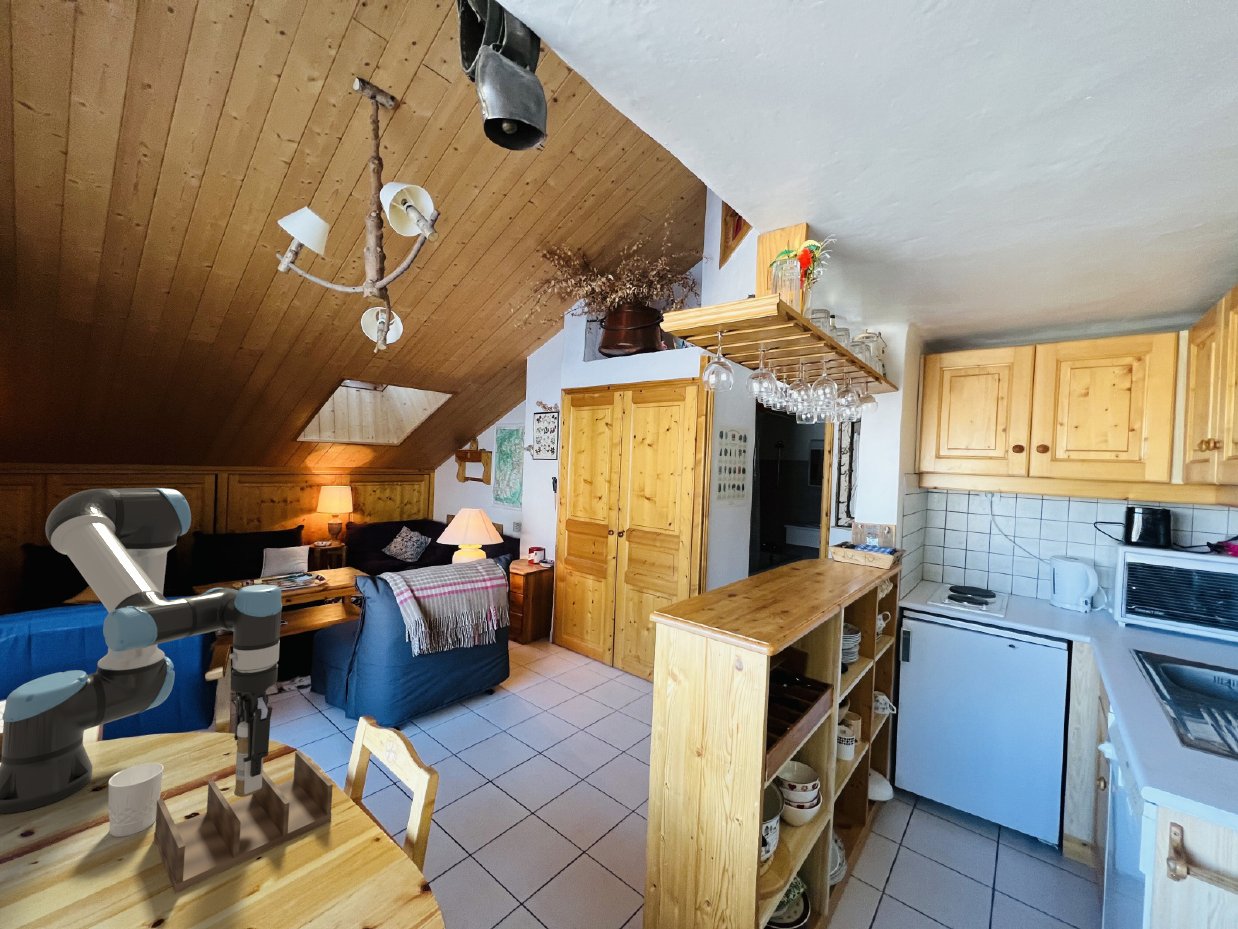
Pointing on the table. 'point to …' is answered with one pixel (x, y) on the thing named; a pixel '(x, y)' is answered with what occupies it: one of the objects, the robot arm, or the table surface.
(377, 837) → the table surface
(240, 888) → the table surface
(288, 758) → the table surface
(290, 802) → the slot rack
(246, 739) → the sprinkles bottle
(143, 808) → the white cup
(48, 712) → the robot arm
